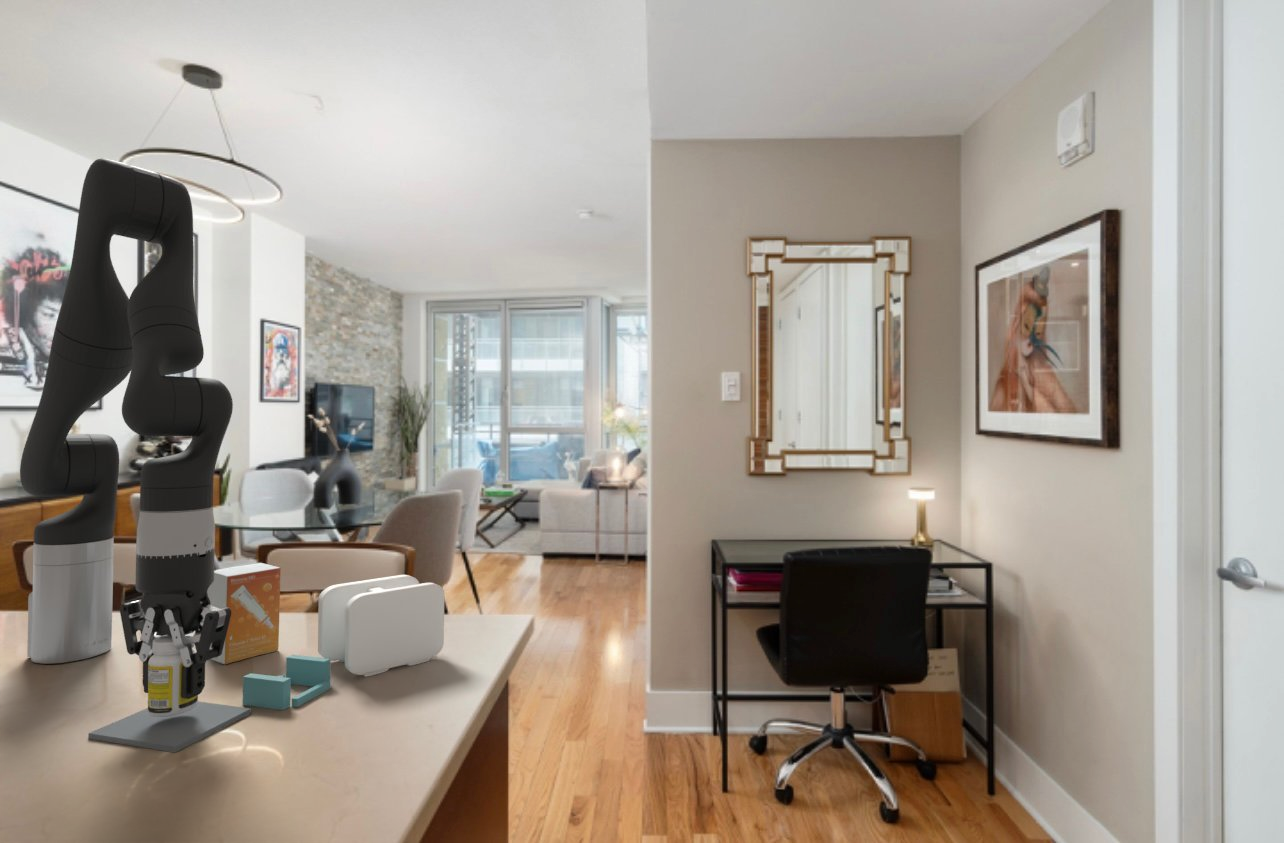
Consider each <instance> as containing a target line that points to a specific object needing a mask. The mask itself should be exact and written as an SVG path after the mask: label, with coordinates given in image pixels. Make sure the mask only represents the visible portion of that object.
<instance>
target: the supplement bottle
mask: <svg viewBox="0 0 1284 843" xmlns="http://www.w3.org/2000/svg"><path fill="white" fill-rule="evenodd" d="M194 635H195V633H194V632H193V633H190V634H187V635H185V637H187V638H189V637H192V636H194ZM191 647H192V651H193V654H194V653H196V648H194V647H195V644H194V643H192V645H191ZM152 653H154V655H153V656H151V658H150V659H149V662H148V693H147V708H148V713H149V714H150V715H151V716H154V717H168V716H173V715H177V714H181V713H184V712H187V711H189V710H191V709H193V708H194V707H195V706H196V705H197V702H198V701H199V699H198V698H199V695H197V696H194V697H192V698H190V699H186V698H182V697H181V673H182V667H183V666H184V665H183V662H182V658H181V654H180V650H179V649H178V648H175V646H174V643H173V639H172V637H171V636H169V635H164V636H161V637H158V638H155V639H154V640H153V645H152Z"/></svg>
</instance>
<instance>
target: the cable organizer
mask: <svg viewBox="0 0 1284 843" xmlns="http://www.w3.org/2000/svg"><path fill="white" fill-rule="evenodd" d="M317 620H318V622H317V624H318V625H317V652H318V655H320V657H321V658H328V659H330V662H341V663H344V666H345V668H346V669H347V671H349V672H350V673H352V674H354V675H357V676H364V677H370V676H375V675H378V674H381V673H385V672H387V671H389V669H391V668H392V669H393V668H396V667H401V666H403V665H404V666H405V665H407V666H413V665H414V666H415V665H419V664H423V663H427V662H429V661H430V660H431V659H432V658H434V657H436V656H437V655H438V654H440V653H441V651H442V649H443V648H444V644H445V642H444V641H445V590H444V589H443V587H442V586H441V585H439V584H436V583H434V582H423V583H420V581H419V580H418V579H417V578H416V577H413V576H411V575H409V574H397V575H391V576H384V577H378V578H377V577H376V578H371V579H365V580H359V581H350V582H344V583H338V584H332V585H330V586H328V587H326V588H324V589H323V590H322V591H321V593H320V594H319V596H318V617H317Z"/></svg>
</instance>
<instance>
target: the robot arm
mask: <svg viewBox="0 0 1284 843" xmlns="http://www.w3.org/2000/svg"><path fill="white" fill-rule="evenodd" d="M82 185H83V186H82V189H81V195H80V201H79V202H80V203H79V209H78V216H77V225H76V230H75V238H74V246H73V252H72V257H71V258H72V259H71V263H70V270H69V274H68V279H67V282H66V286H65V290H64V294H63V298H62V302H61V306H60V309H59V311H58V316H57V318H56V319H57V320H56V323H55V328H54V332H53V337H52V341H51V344H50V352H49V358H48V363H47V368H46V369H47V370H46V373H45V378H44V382H43V388H42V392H41V397H40V399H39V403H38V406H37V409H36V412H35V415H34V418H33V421H32V423H31V426H30V430H29V431H28V436H27V438H26V440H25V444H24V447H23V451H22V455H21V460H20V466H19V478H20V479H19V480H20V483H21V486H22V488H23V490H24V491H25V492H27V493H28V494H29V495H31V496H37V497H61V496H62V497H63V496H76V495H77V496H79V495H80V496H81V495H83V496H82V499H81V501H80V502H79V503H78V504H76V506H74V507H73V508H71V509H69V510H66V511H65V512H62V513H61V514H58V515H56V516H52V517H49V518H47V519H45V520H42V521H40V522H38V523H36V525H35V526H34V529H33V550H32V552H33V554H32V555H33V556H32V559H33V560H32V562H33V563H32V564H33V566H32V569H33V570H32V592H29V594H28V599H27V600H28V604H27V605H28V610H27V613H28V614H27V648H26V649H27V655H26V656H27V658H30V661H31V662H32V663H35V664H41V665H42V664H45V665H46V664H62V663H69V662H76V661H80V660H81V661H82V660H85V659H89V658H92V657H96V656H99V655H103V654H104V653H106V652H108V651H110V650H111V649H112V635H113V634H112V633H113V630H112V629H113V626H112V625H113V594H114V591H113V587H114V533H115V532H114V531H115V530H114V529H115V522H116V515H117V513H116V512H117V496H118V495H117V494H118V485H119V484H118V483H119V475H120V474H119V473H120V452H119V448H118V444H117V442H116V440H115V439H114V438H113V437H112V436H110V435H108V434H102V433H70V431H71V430H72V428H73V426H74V425H75V423H76V421H77V420H79V418H80V417H81V416H82V415H83V414H84V413H85V412H86V411H87V410H88V409H90V408H91V407H92V406H93V405H95V404H96V403H98V402H99V401H100V400H101V399H103V398H104V397H105V396H106V395H108V394H109V393H110V392H112V391H113V390H114V389H115V388H116V387H118V386H119V385H120V384H121V383H122V382H123V381H124V380H125V379H126V378H127V376H128V375H129V378H128V382H127V385H126V387H125V391H124V395H123V399H122V403H121V404H122V405H121V415H122V418H123V419H122V420H123V422H124V423H125V424H126V426H127V427H128V428H129V429H130V430H131V431H132V432H134V433H135V434H137V435H139V436H143V437H160V438H161V437H192V438H191V441H190V442H189V443H188V444H189V445H187V446H186V448H185V449H184V450H183V451H181V452H179V453H176V454H172V455H167V456H163V457H157V458H152V459H150V460H147V461H145V463H143V465H142V467H141V468H140V477H139V478H140V487H139V489H140V490H139V515H138V521H137V527H136V542H135V544H136V546H135V549H136V550H135V586H134V587H135V590H136V591H137V592H138V593H140V594H142V597H140V598H141V599H137V600H133V601H130V602H125V603H122V604H121V605H119V613H120V620H121V626H122V630H123V636H124V640H125V647H126V651H127V653H128V654H129V655H137V656H138V658H139V660H140V662H142V685H143V692H144V693H145V694H148V662H149V659H150V658H151V656H153V655H154V653H152V645H153V640H154V639H155V638H158V637H161V636H164V635H169V636H171V637H172V639H173V643H174V646H175V648H178V649H179V650H180V654H181V658H182V662H183V665H184V666H183V667H182V673H181V697H182V698H186V699H190V698H192V697H194V696H197V695H198V696H199V695H200V694H201V693H202V692H203V690H204V688H205V686H206V681H205V680H206V663H207V661H209V660H212V658H215V657H218V656H220V655H221V654H222V650H223V646H224V642H225V638H226V634H227V630H228V626H229V622H230V618H231V609H230V608H228V607H226V608H222V609H219V608H216V607H214V606H212V605H211V602H210V599H209V597H208V593H207V591H208V588H209V586H210V585H211V584H212V583H213V581H214V570H215V552H216V551H215V544H216V542H215V541H216V539H215V538H216V525H215V524H216V523H215V517H214V507H213V506H214V481H215V480H214V476H215V471H216V466H217V465H216V464H217V460H218V457H219V453H220V450H221V446H222V444H223V440H224V439H225V434H226V432H227V430H228V428H229V424H230V422H231V418H232V416H233V415H232V414H233V406H234V404H233V398H232V394H231V392H230V390H229V389H228V387H227V386H226V385H225V384H224V383H223V382H222V381H220V380H219V379H215V378H209V377H192V376H175V375H176V374H182V373H185V372H188V371H191V370H193V369H195V368H197V367H198V366H199V365H201V363H202V361H203V359H204V355H205V353H204V345H203V344H204V343H203V339H202V334H201V328H200V324H199V321H198V320H199V319H198V315H197V309H196V308H197V307H196V303H195V292H194V274H195V273H194V269H195V268H194V264H195V263H194V261H195V260H194V258H195V257H194V255H195V254H194V253H195V252H194V250H195V249H194V246H195V245H194V216H193V215H194V214H193V213H194V212H193V205H192V200H191V196H190V192H189V191H188V188H187V187H186V185H185V184H184V183H182V182H181V181H180V180H178V179H176V178H174V177H171V176H167V175H165V174H162V173H158V172H156V171H152V170H148V169H146V168H141V167H138V166H135V165H132V164H128V163H125V162H121V161H117V160H115V159H114V160H113V159H108V158H104V157H103V158H97V159H95V160H94V161H93V162H92V163H91V165H90V166H89V168H88V169H87V172H86V174H85V177H84V181H83V184H82ZM114 235H115V236H120V237H125V238H129V239H134V240H138V241H142V242H146V243H151V244H158V245H160V246H161V255H160V257H159V259H158V261H157V262H156V264H155V265H154V266H153V267H152V268H151V269H150V270H149V272H147V274H146V275H145V276H143V278H142V279H140V280H139V282H138V283H137V285H136V286H135V287H134V289H132V290H133V291H131V292H132V293H131V294H130V296H128V295H127V293H126V291H125V289H124V288H123V285H122V283H121V282H120V280H119V278H118V276H117V273H116V271H115V268H114V266H113V261H112V259H111V258H112V257H111V241H112V237H113V236H114ZM138 631H140V640H139V641H138V636H137V632H138ZM190 633H193V634H194V636H192V637H189V638H187V637H185V635H187V634H190ZM192 643H194V647H195V648H194V649H195V650H196V653H194V654H193V651H192V647H191V645H192ZM211 643H212V646H211V648H210V645H211Z"/></svg>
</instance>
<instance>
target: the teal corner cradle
mask: <svg viewBox="0 0 1284 843" xmlns="http://www.w3.org/2000/svg"><path fill="white" fill-rule="evenodd" d="M285 660H286V662H285V665H286V666H285V675H282V674H279V675H277V676H276V675H269V674H267V675H266V674H260V673H251V672H250V673H248V674H246V675H244V676H242V705H243V706H249V707H257V708H264V709H265V708H266V709H271V710H281V711H285V710H286V709H288V708H290V707H295V708H298V707H300V706H302V705H304V704H306V703H307V702H309V701H311V700H312V699H315V698H316V697H318V696H320V695H321V694H323V693H325V692H328V690H331V661H330V659H328V658H323V657H318V656H309V655H301V654H299V655H298V654H291V655H288V656H287V657H286V658H285ZM291 685H297V686H303V687H305V686H306V687H310V688H309V689H307V690H305V691H303V692H301V693H300V694H297V695H295V696H293V697H292V698H291V692H292V690H291V687H292V686H291Z"/></svg>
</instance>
